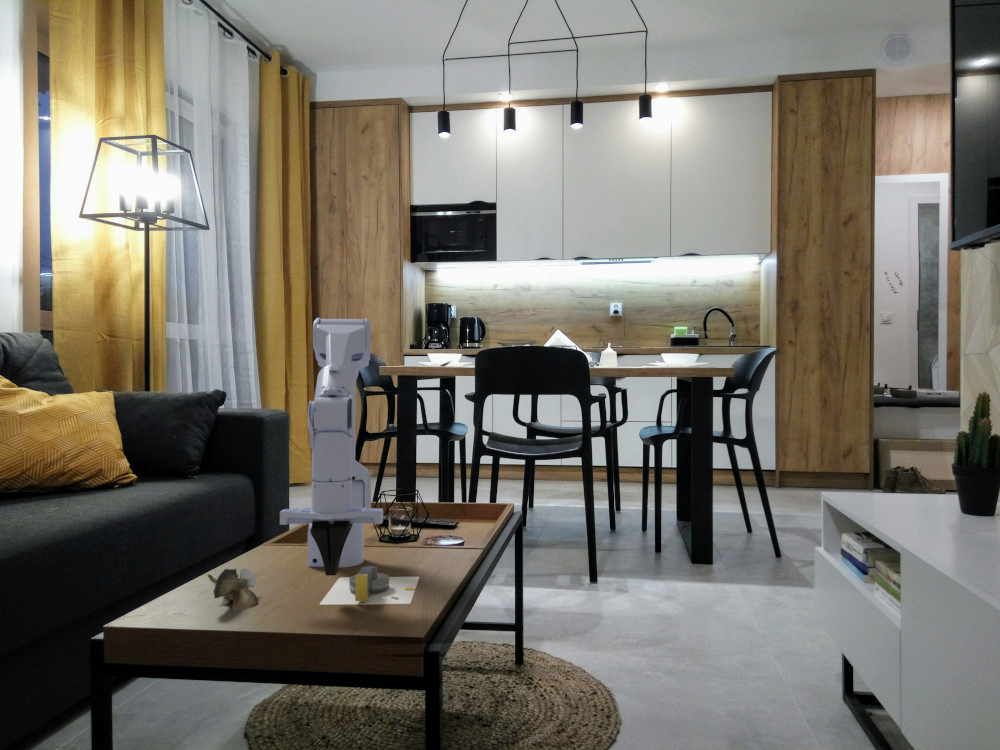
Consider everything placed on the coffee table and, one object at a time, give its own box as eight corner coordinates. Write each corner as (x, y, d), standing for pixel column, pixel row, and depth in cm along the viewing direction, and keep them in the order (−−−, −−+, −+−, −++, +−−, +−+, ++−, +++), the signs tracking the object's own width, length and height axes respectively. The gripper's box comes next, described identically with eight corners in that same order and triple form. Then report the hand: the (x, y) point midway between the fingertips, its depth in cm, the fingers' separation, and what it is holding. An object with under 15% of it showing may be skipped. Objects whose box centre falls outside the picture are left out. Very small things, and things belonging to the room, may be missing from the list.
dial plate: (319, 611, 99) (319, 603, 99) (339, 583, 113) (339, 576, 113) (410, 610, 99) (410, 602, 99) (419, 582, 113) (419, 575, 113)
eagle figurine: (191, 600, 100) (200, 605, 93) (219, 555, 103) (229, 556, 96) (239, 622, 103) (250, 629, 95) (264, 577, 106) (278, 580, 98)
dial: (353, 582, 109) (353, 558, 109) (391, 581, 109) (391, 558, 109) (339, 602, 99) (340, 576, 99) (382, 602, 99) (382, 575, 99)
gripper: (273, 483, 96) (272, 581, 96) (377, 482, 97) (377, 580, 96) (287, 477, 103) (287, 568, 103) (385, 476, 104) (385, 567, 103)
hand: (331, 573), depth 100 cm, fingers closed
